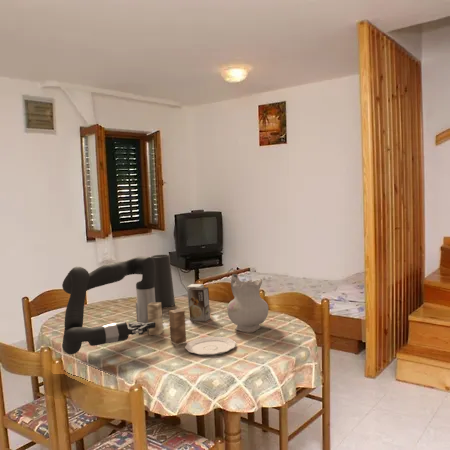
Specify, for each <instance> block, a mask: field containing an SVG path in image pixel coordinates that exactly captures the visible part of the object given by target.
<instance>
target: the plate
mask: <svg viewBox="0 0 450 450" xmlns="http://www.w3.org/2000/svg"><path fill="white" fill-rule="evenodd" d="M236 344H237V342H236V341H235V340H233V339H232V338H229V337H223V336H205V337H201V338H200V337H199V338H195V339H193V340H191V341H189V342H186V345H185V346H184V349H185V350H187V351H188V352H189V353H192V354H196V355H201V356H215V355H221V354H225V353H226V352H230V351H231V350H232V349H233V350H234V348H236Z"/></svg>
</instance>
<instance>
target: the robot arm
mask: <svg viewBox="0 0 450 450" xmlns="http://www.w3.org/2000/svg"><path fill="white" fill-rule="evenodd" d="M131 275H140V276H142V277H141V280H139V281H137V282H136V283H135V289H136V290H135V291H136V293H135V294H136V302H135V311H136V314H135V315H136V321H135V322H133V321H129V322H128V324H127V322H126V321H123V320H121V321H117V322H113V323H107V324H104V325H100V326H95V327H83V326H84V325H83V324H84V312H85V304H86V303H85V301H86V296H87V292H88V291H89V290H92V289H95V288H98V287H102V286H105V285H109V284H113V283H118V282H120V281H122V280H124V279H125V277H127V276H131ZM61 284H62V289H63V291H64V292H65V293H66V294H69V299H68V300H67V301H68V302H67V304H66V308H65V312H64V331H63V339H62V342H61V343H62V344H61V345H62V347H61V348H62V350H63V351H64V353H66V354H68V355H75V354H77V353H78V352H79V351H80V350H81V348H82V343H85V342H86V343H88V345H89V346H91V347H95V346H99V345H106V344H112V343H118V342H121V341H123V342H124V341H127V340H128V338H129V336H130V335H131V336H135V335H137V334H138V335H139V336H141V335H143V334H145V333H147V332H149V329H150V328H155V322H149V323H148V310H147V305H148V304H149V303H151V302H155V288H154V284H155V262H154V260H153V258H151V256H139V255H138V256H136V257H133V258H129V259H127V260H124V261H117V262H112V263H111V262H110V263H106V264H103V265H101V266H98V268H96V269H94V270H93V271H91V272H89V271H88V270H87V269H86V268H84V267H82V266H75V267H73V268H71V269H70V270H69V272H68V273H67V275H65V278H64V279H63V281H62V283H61Z"/></svg>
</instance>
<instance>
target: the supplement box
mask: <svg viewBox="0 0 450 450" xmlns="http://www.w3.org/2000/svg"><path fill="white" fill-rule="evenodd" d="M192 287H205V286H204V284H203V283H191V284H189V285H188V286H186V288H187V293H188V289H190V288H192ZM187 305H188V306H187V307H189V296H188V295H187Z"/></svg>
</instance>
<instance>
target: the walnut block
mask: <svg viewBox="0 0 450 450" xmlns="http://www.w3.org/2000/svg"><path fill="white" fill-rule="evenodd" d="M185 316H186V315H185V310H183V309H181V308H176V309H172V310H171V309H170V310H168V319H169V334H170V343H171V344H172V345H175V346H178V345H181V344H187V332H186V329H187V328H186V317H185Z"/></svg>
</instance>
